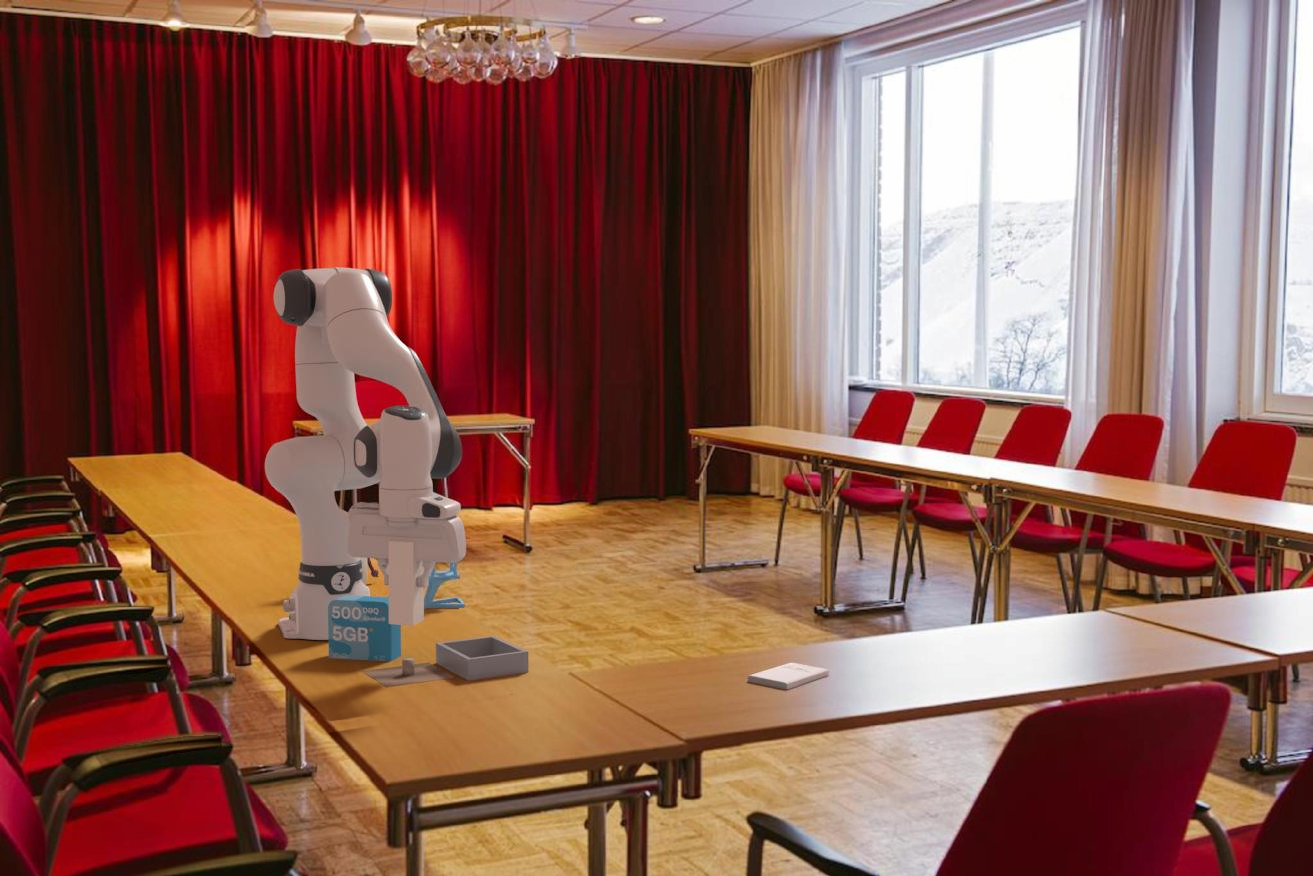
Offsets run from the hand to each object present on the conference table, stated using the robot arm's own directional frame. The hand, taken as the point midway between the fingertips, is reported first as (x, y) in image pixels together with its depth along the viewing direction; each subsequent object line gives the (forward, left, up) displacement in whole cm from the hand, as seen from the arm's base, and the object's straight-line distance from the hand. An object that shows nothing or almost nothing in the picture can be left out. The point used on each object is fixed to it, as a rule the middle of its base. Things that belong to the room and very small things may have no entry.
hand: (406, 585), depth 227 cm
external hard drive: (+31, +57, -17) cm, 67 cm away
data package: (-16, -2, -17) cm, 23 cm away
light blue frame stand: (-58, +30, -17) cm, 67 cm away
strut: (0, 0, -6) cm, 6 cm away
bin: (+2, +13, -17) cm, 21 cm away
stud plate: (0, 0, -17) cm, 17 cm away
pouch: (-84, +17, -17) cm, 87 cm away
